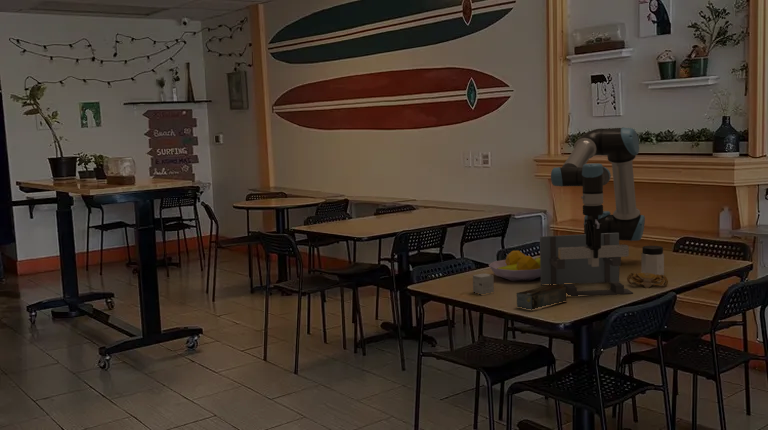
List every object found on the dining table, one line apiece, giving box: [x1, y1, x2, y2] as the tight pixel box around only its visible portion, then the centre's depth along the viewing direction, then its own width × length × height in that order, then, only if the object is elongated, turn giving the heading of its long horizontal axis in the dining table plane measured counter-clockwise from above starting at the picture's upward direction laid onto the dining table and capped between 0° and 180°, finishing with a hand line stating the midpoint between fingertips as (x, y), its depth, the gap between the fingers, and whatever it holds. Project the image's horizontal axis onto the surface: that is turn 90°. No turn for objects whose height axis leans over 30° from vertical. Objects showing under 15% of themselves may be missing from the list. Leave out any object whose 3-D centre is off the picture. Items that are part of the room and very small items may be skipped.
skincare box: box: [472, 272, 495, 295], centre depth 304 cm, size 6×6×7 cm
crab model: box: [626, 272, 669, 289], centre depth 305 cm, size 16×13×6 cm
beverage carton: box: [516, 284, 568, 310], centre depth 281 cm, size 8×19×7 cm, turn 126°
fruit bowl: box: [488, 249, 541, 282], centre depth 329 cm, size 28×27×11 cm
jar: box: [641, 245, 665, 276], centre depth 322 cm, size 9×8×12 cm
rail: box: [558, 244, 630, 260], centre depth 293 cm, size 4×26×4 cm, turn 92°
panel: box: [539, 233, 622, 286], centre depth 307 cm, size 14×32×20 cm, turn 91°
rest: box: [563, 281, 634, 296], centre depth 295 cm, size 7×28×4 cm, turn 92°
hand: (593, 265), depth 294 cm, fingers closed on rail, 3 cm apart
